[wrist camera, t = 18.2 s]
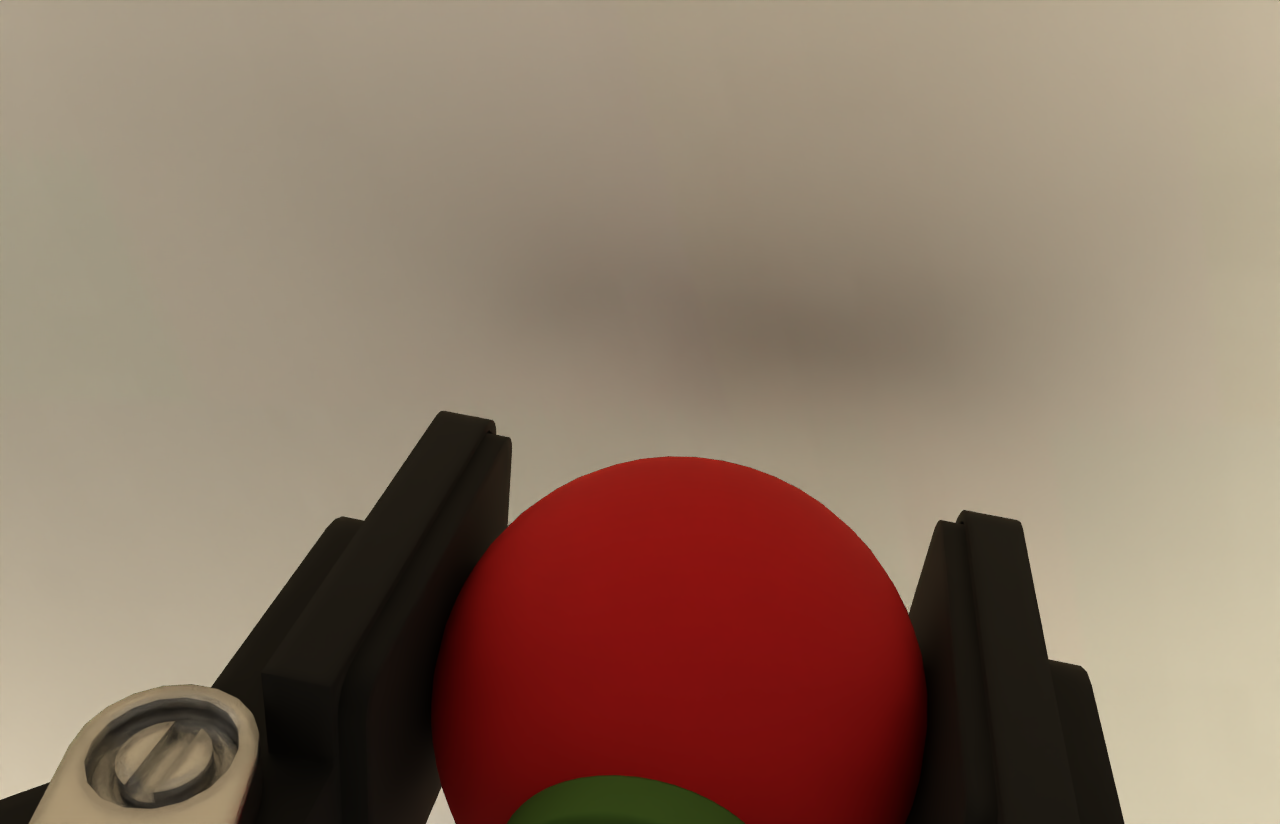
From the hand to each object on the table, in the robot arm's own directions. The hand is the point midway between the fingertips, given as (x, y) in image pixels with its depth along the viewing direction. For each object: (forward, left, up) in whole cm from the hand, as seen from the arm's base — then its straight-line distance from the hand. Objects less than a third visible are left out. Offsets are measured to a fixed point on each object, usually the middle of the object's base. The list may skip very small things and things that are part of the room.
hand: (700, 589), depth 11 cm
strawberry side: (0, 0, -1) cm, 1 cm away
